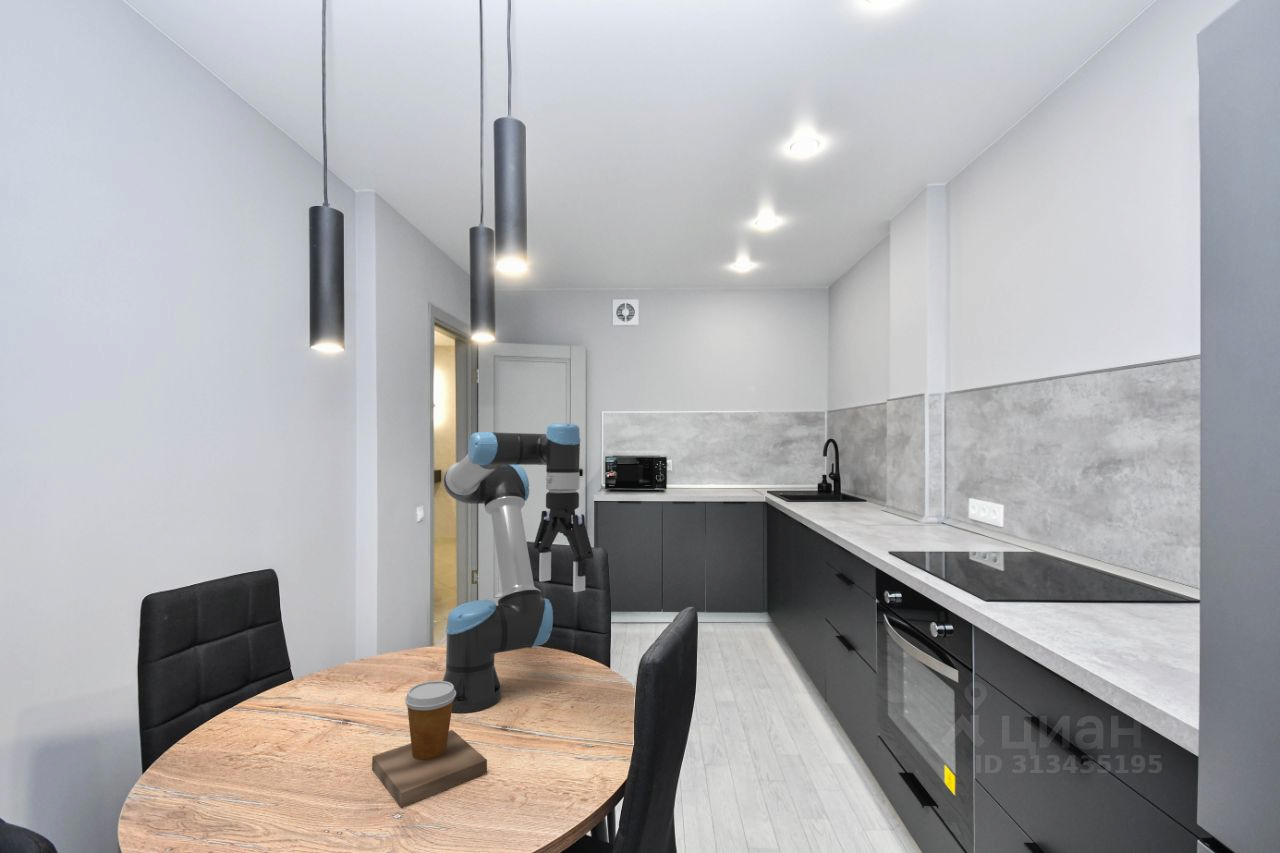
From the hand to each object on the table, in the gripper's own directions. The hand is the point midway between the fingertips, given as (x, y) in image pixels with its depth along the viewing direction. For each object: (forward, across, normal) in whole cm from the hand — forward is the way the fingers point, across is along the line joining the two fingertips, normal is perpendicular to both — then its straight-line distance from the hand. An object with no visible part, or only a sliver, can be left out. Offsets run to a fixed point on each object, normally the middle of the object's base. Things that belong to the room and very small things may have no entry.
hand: (561, 585), depth 126 cm
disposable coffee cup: (+29, -5, -27) cm, 40 cm away
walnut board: (+32, -3, -28) cm, 42 cm away
